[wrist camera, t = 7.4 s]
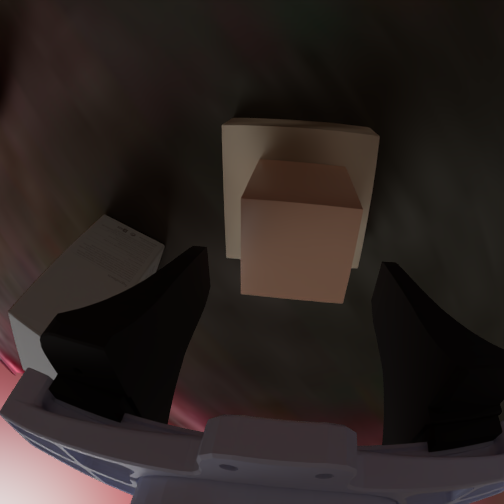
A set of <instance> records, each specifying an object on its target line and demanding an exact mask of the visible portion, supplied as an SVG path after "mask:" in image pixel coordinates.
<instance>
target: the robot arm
mask: <svg viewBox="0 0 504 504" xmlns="http://www.w3.org/2000/svg"><path fill="white" fill-rule="evenodd" d="M209 290H210V277H209V266H208V254H207V247H200V246H192V247H191V248H189V249H188V250H186V251H185V252H183V253H182V254H181V255H179V256H178V257H177V258H175V259H174V260H173V261H171V262H170V263H169V264H167V265H166V266H165V267H163V268H162V269H160V270H159V271H157V272H156V273H154V274H153V275H151V276H150V277H148V278H147V279H145V280H144V281H142V282H140V283H138V284H137V285H135V286H133V287H131V288H129V289H127V290H125V291H123V292H121V293H119V294H117V295H115V296H112V297H110V298H108V299H105V300H103V301H100V302H97V303H95V304H92V305H89V306H86V307H82V308H79V309H75V310H71V311H67V312H62V313H58V314H57V315H56V316H55V317H54V319H53V320H52V321H51V323H50V324H49V325H48V327H47V328H46V329H45V331H44V332H43V333H42V335H41V336H40V343H41V348H42V350H43V352H44V354H45V355H46V357H47V359H48V360H49V362H50V363H51V365H52V366H53V368H54V370H55V371H56V373H57V376H56V378H55V379H54V380H53V379H52V378H51V377H49V376H48V375H46V374H44V373H41V372H39V371H37V370H34V369H32V368H27V369H26V371H25V372H24V374H23V376H22V377H21V379H20V380H19V382H18V383H17V385H16V386H15V388H14V389H13V391H12V392H11V394H10V396H9V397H8V399H7V401H6V402H5V404H4V405H3V407H2V409H1V410H0V415H1V416H2V417H3V419H5V421H7V422H8V423H9V424H10V425H11V426H12V427H13V428H14V429H15V430H16V431H17V432H18V433H19V434H20V435H21V436H22V437H23V438H24V439H26V440H27V441H28V442H29V443H30V444H31V445H33V446H35V447H36V448H38V449H40V450H41V451H43V452H45V453H47V454H48V455H50V456H52V457H54V458H56V459H57V460H59V461H61V462H63V463H65V464H67V465H69V466H70V467H72V468H74V469H76V470H78V471H80V472H82V473H84V474H86V475H88V476H90V477H92V478H94V479H96V480H99V481H101V482H103V483H105V484H107V485H109V486H112V487H114V488H116V489H119V490H121V491H124V492H126V493H128V494H131V495H133V498H132V501H131V504H469V503H472V502H475V501H478V500H481V499H484V498H487V497H490V496H493V495H496V494H498V493H501V492H503V491H504V420H503V421H501V422H500V421H499V417H498V415H500V414H501V412H502V410H501V406H500V403H501V402H502V401H503V400H504V349H502V348H500V347H497V346H495V345H493V344H491V343H490V342H488V341H486V340H484V339H482V338H481V337H479V336H477V335H476V334H474V333H473V332H471V331H470V330H468V329H467V328H465V327H464V326H463V325H461V324H460V323H458V322H457V321H456V320H455V319H453V318H452V317H451V316H450V315H448V314H447V313H446V312H445V311H444V310H442V309H441V308H440V307H439V306H438V305H437V304H436V303H435V302H434V301H433V300H432V299H431V298H430V297H429V296H428V295H427V294H426V293H425V292H424V291H423V290H422V289H421V288H420V287H419V286H418V285H417V284H416V283H415V282H414V281H413V280H412V279H411V278H410V277H409V275H408V274H407V273H406V272H405V271H404V270H403V269H402V268H401V267H400V266H399V265H398V264H397V263H394V262H382V264H381V268H380V271H379V275H378V279H377V282H376V286H375V290H374V293H373V296H372V300H371V302H372V314H373V323H374V328H375V333H376V337H377V342H378V347H379V352H380V357H381V362H382V369H383V382H384V429H383V442H382V445H377V446H357V433H356V432H354V431H353V430H351V429H349V428H348V427H346V426H344V425H339V424H332V423H321V422H303V421H289V420H278V419H268V418H259V417H251V416H243V415H221V416H218V417H215V418H212V419H209V420H208V422H207V424H206V427H205V430H204V432H199V431H194V430H189V429H185V428H180V427H176V426H172V425H167V424H168V419H169V413H170V409H171V404H172V400H173V395H174V391H175V387H176V383H177V380H178V376H179V372H180V369H181V365H182V362H183V358H184V355H185V352H186V349H187V347H188V344H189V342H190V340H191V337H192V335H193V333H194V331H195V328H196V326H197V324H198V321H199V319H200V317H201V314H202V312H203V310H204V307H205V304H206V301H207V297H208V294H209Z"/></svg>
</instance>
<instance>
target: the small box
mask: <svg viewBox="0 0 504 504" xmlns="http://www.w3.org/2000/svg"><path fill="white" fill-rule="evenodd" d="M164 248H165V245H163V244H162V243H160V242H158V241H156V240H154V239H152V238H150V237H148V236H146V235H144V234H142V233H140V232H138V231H136V230H134V229H132V228H130V227H128V226H126V225H125V224H123V223H121V222H119V221H117V220H115V219H113V218H111V217H109V216H107V215H103V216H101V217H100V218H99V219H98V220H97V221H96V222H95V223H94V224H93V225H91V226H90V227H89V228H88V229H87V230H86V231H85V232H84V233H83V234H82V235H81V236H80V237H79V238H78V239H77V240H75V241H74V242H73V243H72V244H71V245H70V246H69V247H68V248H67V249H66V250H65V251H64V252H63V253H62V254H61V255H60V256H59V257H58V258H57V259H56V260H55V261H54V262H53V263H52V264H51V265H50V266H49V267H48V268H47V269H46V270H45V271H44V272H43V273H42V274H41V275H40V276H39V278H38V279H37V280H36V281H35V282H34V283H33V284H32V285H31V286H30V287H29V288H28V289H27V291H26V292H25V293H24V294H23V295H22V296H21V297H20V298H19V299H18V301H17V302H16V303H15V304H14V305H13V306H12V307H11V308H10V310H9V311H8V315H9V319H10V323H11V328H12V332H13V336H14V339H15V343H16V347H17V350H18V354H19V357H20V361H21V364H22V367H23V369H24V370H25V371H26V369H27V368H32V369H34V370H37V371H39V372H41V373H44V374H46V375H48V376H49V377H51V378H52V379H53V380H54V379H55V378H56V376H57V373H56V371H55V370H54V368H53V366H52V365H51V363H50V362H49V360H48V359H47V357H46V355H45V354H44V352H43V350H42V348H41V343H40V336H41V335H42V333H43V332H44V331H45V329H46V328H47V327H48V325H49V324H50V323H51V321H52V320H53V319H54V317H55V316H56V315H57V314H58V313H62V312H67V311H71V310H75V309H79V308H82V307H86V306H89V305H92V304H95V303H97V302H100V301H103V300H105V299H108V298H110V297H112V296H115V295H117V294H119V293H121V292H123V291H125V290H127V289H129V288H131V287H133V286H135V285H137V284H138V283H140V282H142V281H144V280H145V279H147V278H148V277H150V276H151V275H153V274H154V273H156V271H157V268H158V265H159V262H160V259H161V256H162V253H163V250H164Z"/></svg>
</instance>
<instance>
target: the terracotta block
mask: <svg viewBox="0 0 504 504" xmlns="http://www.w3.org/2000/svg"><path fill="white" fill-rule="evenodd" d="M362 213H363V208H362V205H361V203H360V200H359V198H358V195H357V193H356V190H355V188H354V186H353V183H352V181H351V178H350V176H349V174H348V171H347V169H346V167H343V166H334V165H325V164H315V163H305V162H293V161H280V160H266V159H259V161H258V163H257V165H256V167H255V169H254V171H253V173H252V175H251V178H250V180H249V182H248V184H247V186H246V188H245V190H244V193H243V195H242V197H241V294H246V295H255V296H265V297H275V298H285V299H296V300H306V301H318V302H330V303H342V304H343V300H344V296H345V292H346V288H347V284H348V280H349V276H350V271H351V267H352V262H353V258H354V253H355V249H356V244H357V239H358V234H359V229H360V224H361V219H362Z"/></svg>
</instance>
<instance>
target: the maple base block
mask: <svg viewBox="0 0 504 504" xmlns="http://www.w3.org/2000/svg"><path fill="white" fill-rule="evenodd" d="M379 139H380V136H379V135H378V134H376V133H375V132H374V131H373V130H372V129H370V128H369V127H362V126H354V125H346V124H337V123H327V122H316V121H303V120H287V119H266V118H232V119H230V120H229V121H227V122H226V123H224V124H223V125H222V154H223V186H224V213H225V237H226V258H235V259H241V197H242V195H243V193H244V190H245V188H246V186H247V184H248V182H249V180H250V178H251V175H252V173H253V171H254V169H255V167H256V165H257V163H258V161H259V159H266V160H280V161H293V162H305V163H315V164H325V165H334V166H343V167H346V169H347V171H348V174H349V176H350V178H351V181H352V183H353V186H354V188H355V190H356V193H357V195H358V198H359V200H360V203H361V205H362V208H363V213H362V219H361V224H360V229H359V234H358V239H357V244H356V249H355V253H354V258H353V262H352V267H351V268H358V264H359V260H360V255H361V250H362V245H363V240H364V235H365V230H366V225H367V219H368V214H369V208H370V202H371V196H372V190H373V184H374V177H375V170H376V163H377V155H378V147H379Z"/></svg>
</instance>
